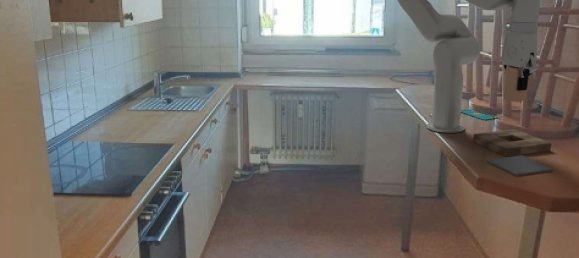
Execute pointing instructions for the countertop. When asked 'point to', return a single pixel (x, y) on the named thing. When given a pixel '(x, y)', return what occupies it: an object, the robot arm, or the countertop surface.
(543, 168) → the mat
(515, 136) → the pocket board
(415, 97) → the countertop surface
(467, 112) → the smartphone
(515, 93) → the block
